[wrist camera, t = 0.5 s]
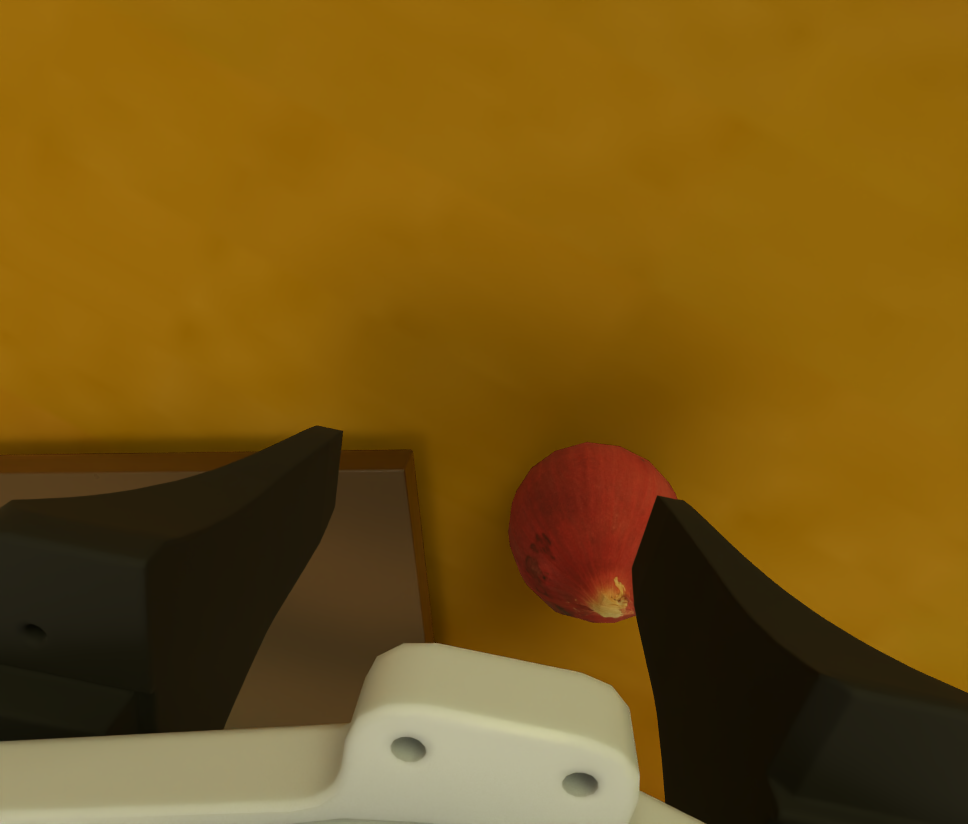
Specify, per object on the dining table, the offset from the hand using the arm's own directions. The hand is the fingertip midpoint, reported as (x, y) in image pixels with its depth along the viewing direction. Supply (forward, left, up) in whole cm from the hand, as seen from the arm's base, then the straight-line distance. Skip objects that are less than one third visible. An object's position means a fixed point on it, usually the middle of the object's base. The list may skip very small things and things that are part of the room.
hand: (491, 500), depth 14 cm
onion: (-5, -3, -10) cm, 12 cm away
